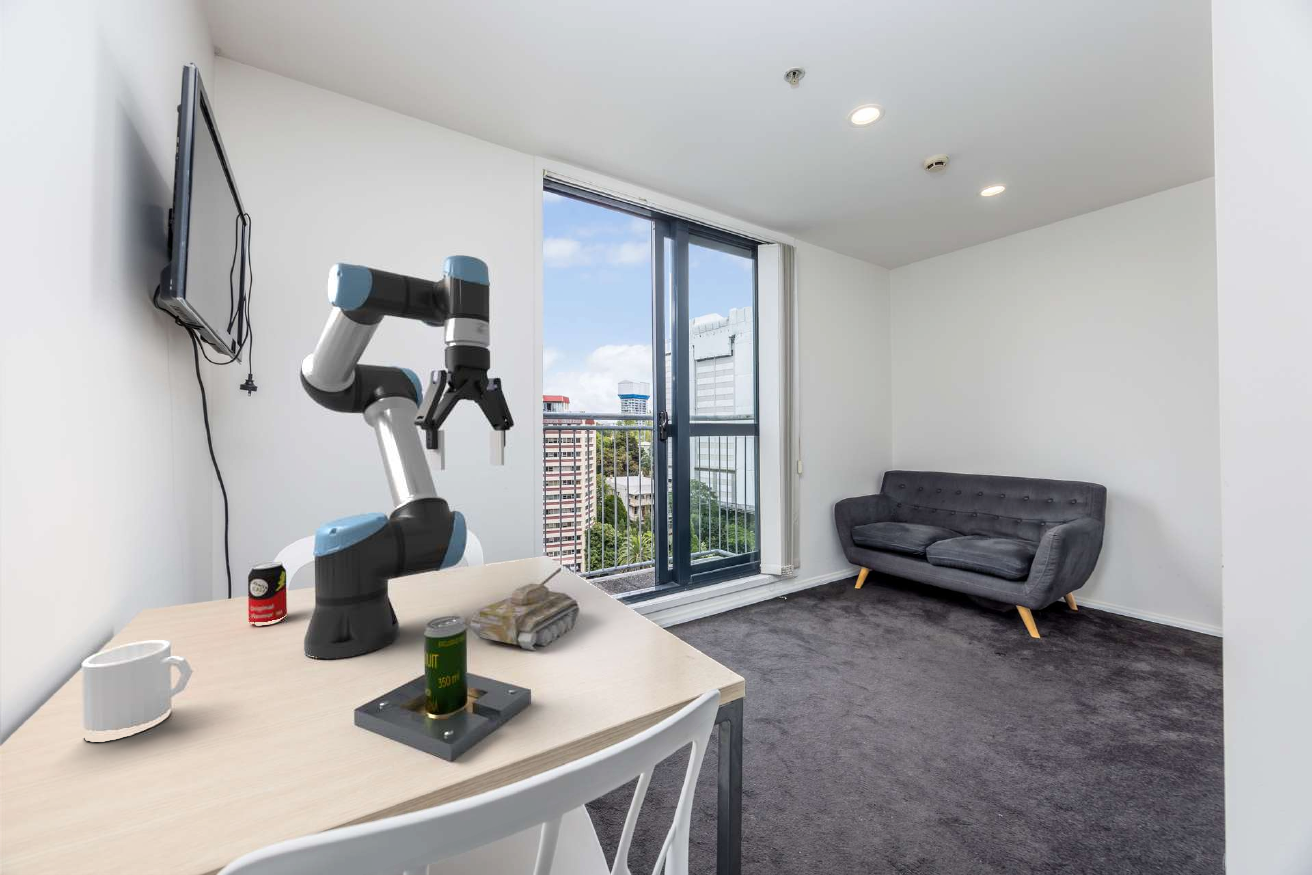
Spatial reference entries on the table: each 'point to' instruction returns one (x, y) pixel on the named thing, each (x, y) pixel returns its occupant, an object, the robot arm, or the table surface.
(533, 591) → the toy tank
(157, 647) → the mug
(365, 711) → the chassis plate
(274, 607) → the beverage can
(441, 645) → the beer can
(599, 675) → the table surface
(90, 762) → the table surface
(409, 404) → the robot arm
